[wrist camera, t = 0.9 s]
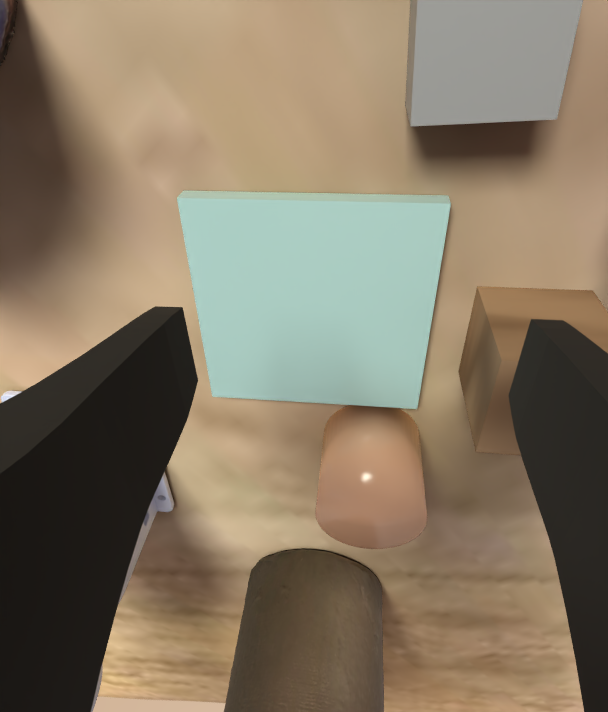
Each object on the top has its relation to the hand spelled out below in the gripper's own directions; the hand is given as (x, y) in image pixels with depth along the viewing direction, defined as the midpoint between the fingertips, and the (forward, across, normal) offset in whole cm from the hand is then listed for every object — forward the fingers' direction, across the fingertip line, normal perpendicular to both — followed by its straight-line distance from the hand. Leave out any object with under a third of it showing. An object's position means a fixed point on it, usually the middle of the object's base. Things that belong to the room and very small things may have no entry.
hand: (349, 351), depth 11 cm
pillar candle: (+10, +2, +29) cm, 31 cm away
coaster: (+10, +2, +5) cm, 11 cm away
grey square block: (+10, -3, -5) cm, 12 cm away
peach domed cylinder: (+10, -1, +13) cm, 17 cm away
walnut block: (+10, -7, +6) cm, 14 cm away
